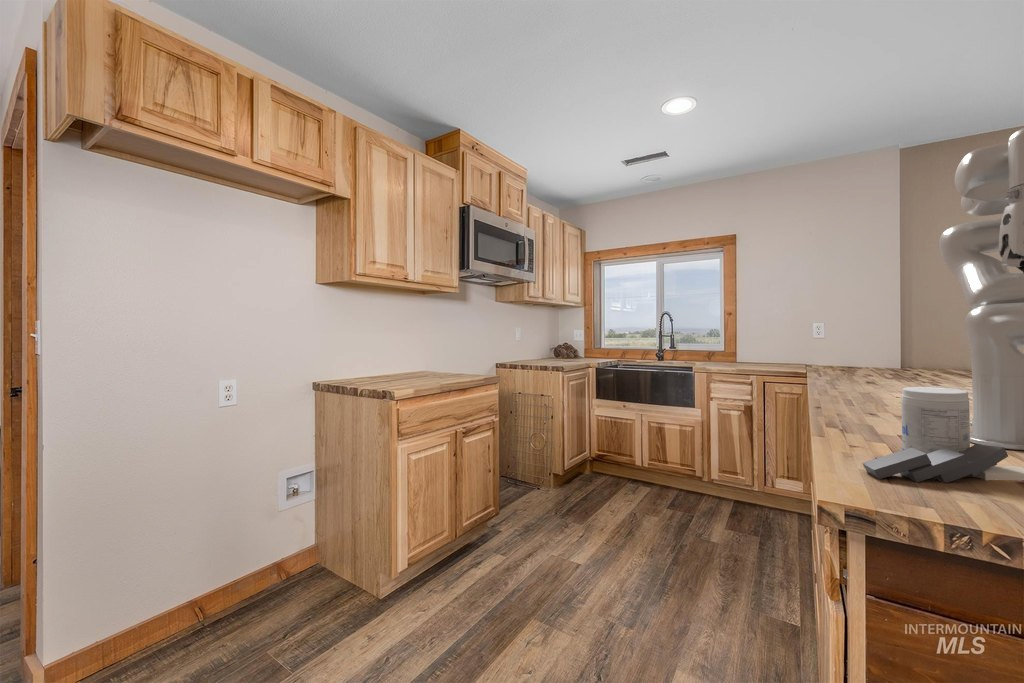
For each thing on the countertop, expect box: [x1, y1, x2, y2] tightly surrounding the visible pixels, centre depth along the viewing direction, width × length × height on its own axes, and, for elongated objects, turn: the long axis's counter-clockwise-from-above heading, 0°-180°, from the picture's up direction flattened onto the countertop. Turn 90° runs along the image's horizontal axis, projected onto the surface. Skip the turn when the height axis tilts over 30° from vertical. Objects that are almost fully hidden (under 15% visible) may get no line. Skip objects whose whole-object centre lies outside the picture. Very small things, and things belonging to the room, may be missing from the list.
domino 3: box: [932, 449, 998, 484], centre depth 74 cm, size 4×2×8 cm
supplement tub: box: [901, 386, 971, 454], centre depth 84 cm, size 10×10×15 cm
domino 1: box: [861, 447, 931, 480], centre depth 77 cm, size 4×2×8 cm
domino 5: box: [975, 465, 1024, 482], centre depth 75 cm, size 4×2×8 cm
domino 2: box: [899, 448, 969, 483], centre depth 75 cm, size 4×2×8 cm
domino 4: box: [966, 443, 1009, 478], centre depth 77 cm, size 4×2×8 cm
